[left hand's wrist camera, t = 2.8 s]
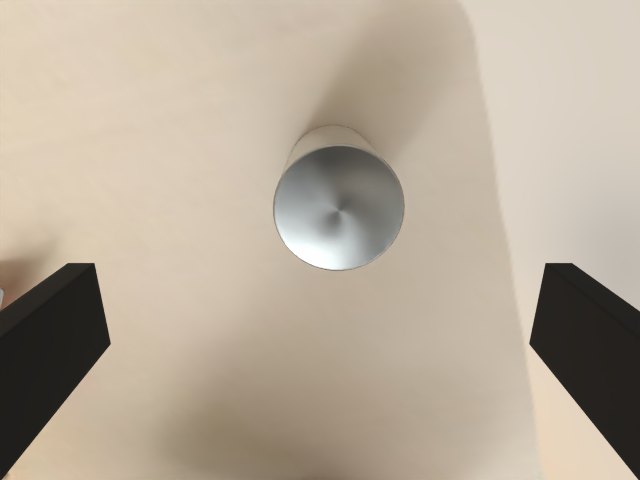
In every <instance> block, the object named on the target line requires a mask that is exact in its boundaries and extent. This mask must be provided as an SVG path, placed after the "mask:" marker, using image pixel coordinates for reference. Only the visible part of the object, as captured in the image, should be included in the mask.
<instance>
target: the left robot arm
mask: <svg viewBox="0 0 640 480" xmlns="http://www.w3.org/2000/svg"><path fill="white" fill-rule="evenodd" d="M110 344H111V342H110V338H109V333H108V328H107V323H106V318H105V313H104V308H103V303H102V298H101V293H100V289H99V284H98V279H97V274H96V269H95V264H94V263H68V264H66V265H65V266H63V267H62V268H61V269H59V270H58V271H56V272H55V273H54V274H52V275H51V276H49V277H48V278H46V279H45V280H44V281H42V282H41V283H39V284H38V285H37V286H35V287H34V288H32V289H31V290H30V291H28V292H27V293H25V294H24V295H23V296H21V297H20V298H18V299H17V300H16V301H14V302H13V303H11V304H10V305H9V306H7V307H6V308H4V309H3V310H2V311H0V480H2V479H3V477H4V476H5V475H6V474H7V472H8V471H9V470H10V469H11V467H12V466H13V465H14V464H15V462H16V461H17V460H18V459H19V457H20V456H21V455H22V454H23V452H24V451H25V450H26V449H27V447H28V446H29V445H30V444H31V442H32V441H33V440H34V439H35V437H36V436H37V435H38V434H39V433H40V431H41V430H42V429H43V428H44V426H45V425H46V424H47V423H48V421H49V420H50V419H51V418H52V416H53V415H54V414H55V413H56V411H57V410H58V409H59V408H60V406H61V405H62V404H63V403H64V401H65V400H66V399H67V398H68V396H69V395H70V394H71V393H72V391H73V390H74V389H75V388H76V387H77V385H78V384H79V383H80V382H81V380H82V379H83V378H84V377H85V375H86V374H87V373H88V372H89V370H90V369H91V368H92V367H93V365H94V364H95V363H96V362H97V360H98V359H99V358H100V357H101V355H102V354H103V353H104V352H105V350H106V349H107V348H108V347H109V345H110ZM529 344H530V345H531V347H532V348H533V349H534V350H535V352H536V353H537V354H538V355H539V357H540V358H541V359H542V360H543V362H544V363H545V364H546V365H547V367H548V368H549V369H550V370H551V372H552V373H553V374H554V375H555V377H556V378H557V379H558V380H559V382H560V383H561V384H562V385H563V387H564V388H565V389H566V390H567V391H568V393H569V394H570V395H571V396H572V398H573V399H574V400H575V401H576V403H577V404H578V405H579V406H580V408H581V409H582V410H583V411H584V413H585V414H586V415H587V416H588V418H589V419H590V420H591V421H592V423H593V424H594V425H595V426H596V428H597V429H598V430H599V431H600V433H601V434H602V435H603V436H604V437H605V439H606V440H607V441H608V442H609V444H610V445H611V446H612V447H613V449H614V450H615V451H616V452H617V454H618V455H619V456H620V457H621V459H622V460H623V461H624V462H625V464H626V465H627V466H628V467H629V469H630V470H631V471H632V472H633V474H634V475H635V476H636V477H637V478H638V480H640V311H638V310H637V309H635V308H634V307H633V306H631V305H630V304H629V303H627V302H626V301H624V300H623V299H622V298H620V297H619V296H617V295H616V294H615V293H613V292H612V291H610V290H609V289H608V288H606V287H605V286H603V285H602V284H601V283H599V282H598V281H596V280H595V279H594V278H592V277H591V276H589V275H588V274H586V273H585V272H584V271H582V270H581V269H579V268H578V267H577V266H575V265H574V264H572V263H546V264H545V269H544V274H543V279H542V284H541V289H540V294H539V298H538V303H537V308H536V313H535V318H534V323H533V328H532V333H531V338H530V343H529Z"/></svg>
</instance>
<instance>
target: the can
mask: <svg viewBox="0 0 640 480" xmlns="http://www.w3.org/2000/svg"><path fill="white" fill-rule="evenodd" d="M404 207H405V205H404V196H403V191H402V187H401V185H400V182H399V180H398V178H397V176H396V174H395V173H394V171H393V170H392V169H391V167H390V166H389V165H388V164H387V163H386V162H385V160H384V159H383V158H382V157H381V156H380V155H379V154H378V153H377V152H376V150H375V149H374V148H373V147H372V146H371V145H370V144H369V143H368V142H367V140H366V139H365V138H364V137H363V136H361V135H360V134H359V133H357V132H356V131H354V130H352V129H350V128H347V127H343V126H337V125H328V126H322V127H319V128H316V129H314V130H312V131H310V132H308V133H307V134H306V135H304V136H303V137H302V138H301V139H300V140H299V141H298V142H297V144H296V145H295V146H294V148H293V150H292V152H291V154H290V157H289V159H288V161H287V164H286V166H285V168H284V171H283V173H282V176H281V178H280V180H279V183H278V185H277V188H276V191H275V195H274V201H273V216H274V221H275V225H276V228H277V231H278V233H279V235H280V237H281V239H282V241H283V242H284V244H285V245H286V246H287V248H288V249H289V250H290V251H291V252H292V253H293V254H294V255H295V256H297V257H298V258H299V259H301V260H302V261H304V262H306V263H308V264H310V265H312V266H315V267H317V268H321V269H325V270H334V271H342V270H350V269H354V268H358V267H361V266H364V265H366V264H368V263H370V262H372V261H373V260H375V259H376V258H378V257H379V256H381V255H382V254H383V253H384V252H385V251H386V250H387V249H388V248H389V247H390V245H391V244H392V243H393V241H394V240H395V238H396V237H397V235H398V233H399V231H400V228H401V225H402V222H403V217H404Z"/></svg>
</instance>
